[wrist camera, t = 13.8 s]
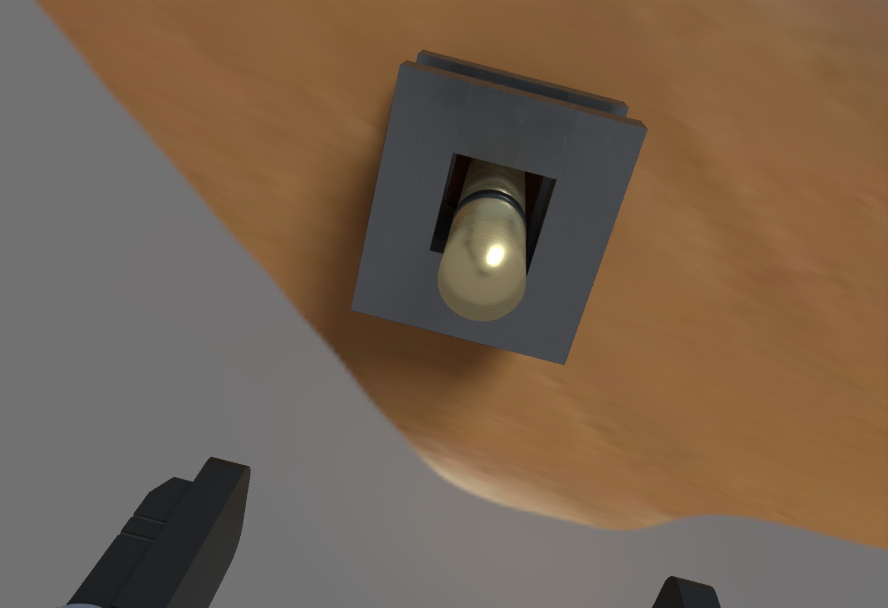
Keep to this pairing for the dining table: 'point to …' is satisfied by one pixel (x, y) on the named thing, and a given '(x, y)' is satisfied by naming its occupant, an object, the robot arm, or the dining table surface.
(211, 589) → the robot arm
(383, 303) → the collar stand
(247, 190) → the dining table surface
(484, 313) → the brass tube
